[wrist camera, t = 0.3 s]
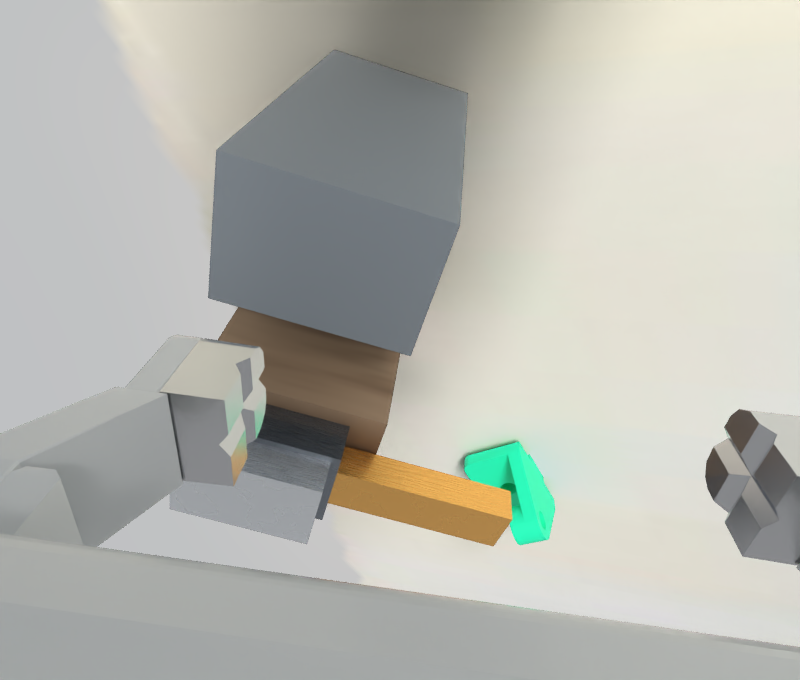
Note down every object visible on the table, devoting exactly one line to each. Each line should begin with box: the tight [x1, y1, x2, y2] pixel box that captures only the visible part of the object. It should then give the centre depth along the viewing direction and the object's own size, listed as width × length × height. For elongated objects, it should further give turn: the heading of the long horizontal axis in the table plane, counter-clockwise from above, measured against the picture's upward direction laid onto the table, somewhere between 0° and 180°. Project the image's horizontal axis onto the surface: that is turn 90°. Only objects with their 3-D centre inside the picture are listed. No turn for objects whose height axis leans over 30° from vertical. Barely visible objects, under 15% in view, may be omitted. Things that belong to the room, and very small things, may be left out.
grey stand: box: [208, 50, 468, 356], centre depth 35 cm, size 8×11×24 cm
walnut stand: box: [218, 307, 400, 455], centre depth 43 cm, size 8×11×25 cm
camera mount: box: [464, 442, 555, 545], centre depth 66 cm, size 12×8×10 cm, turn 30°
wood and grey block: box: [170, 404, 512, 546], centre depth 31 cm, size 6×20×4 cm, turn 75°
